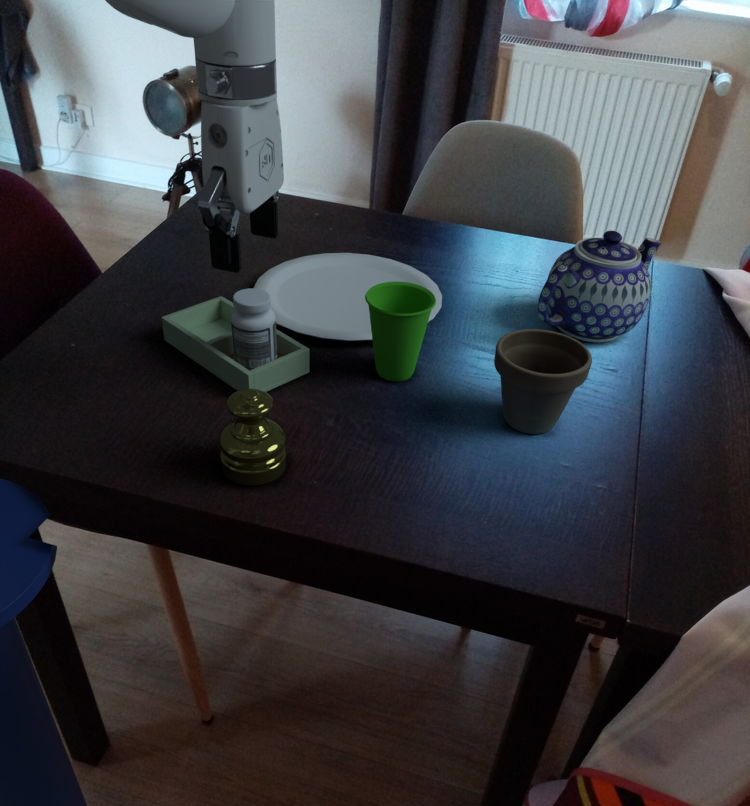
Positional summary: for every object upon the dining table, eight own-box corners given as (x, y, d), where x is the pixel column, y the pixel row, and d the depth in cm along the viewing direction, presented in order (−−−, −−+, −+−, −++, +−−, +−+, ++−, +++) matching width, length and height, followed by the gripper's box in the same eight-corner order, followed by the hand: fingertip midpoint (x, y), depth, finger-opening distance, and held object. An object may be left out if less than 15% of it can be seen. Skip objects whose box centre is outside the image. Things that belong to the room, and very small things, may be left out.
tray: (249, 399, 100) (248, 375, 97) (164, 340, 110) (160, 316, 107) (309, 372, 105) (309, 348, 103) (223, 318, 115) (221, 295, 113)
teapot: (565, 371, 109) (590, 271, 99) (494, 325, 118) (510, 229, 108) (680, 327, 120) (712, 233, 111) (607, 288, 129) (630, 198, 119)
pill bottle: (249, 349, 107) (245, 282, 101) (285, 361, 106) (283, 292, 99) (226, 369, 103) (220, 299, 97) (262, 380, 102) (259, 311, 95)
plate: (387, 370, 106) (388, 359, 105) (213, 313, 116) (212, 303, 115) (470, 289, 126) (472, 280, 125) (316, 247, 136) (316, 237, 135)
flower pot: (510, 384, 105) (523, 317, 99) (588, 415, 101) (607, 346, 94) (467, 423, 98) (478, 353, 91) (549, 458, 93) (567, 387, 87)
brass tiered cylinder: (296, 455, 91) (295, 383, 85) (270, 494, 86) (267, 419, 79) (238, 441, 93) (233, 368, 86) (209, 478, 87) (201, 404, 81)
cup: (348, 367, 107) (350, 293, 99) (397, 348, 111) (403, 275, 104) (391, 397, 102) (397, 321, 94) (441, 375, 106) (450, 301, 99)
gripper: (233, 106, 67) (244, 291, 79) (306, 65, 80) (307, 229, 91) (155, 94, 69) (177, 277, 80) (239, 56, 81) (248, 218, 93)
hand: (246, 252), depth 86 cm, fingers open, 9 cm apart
